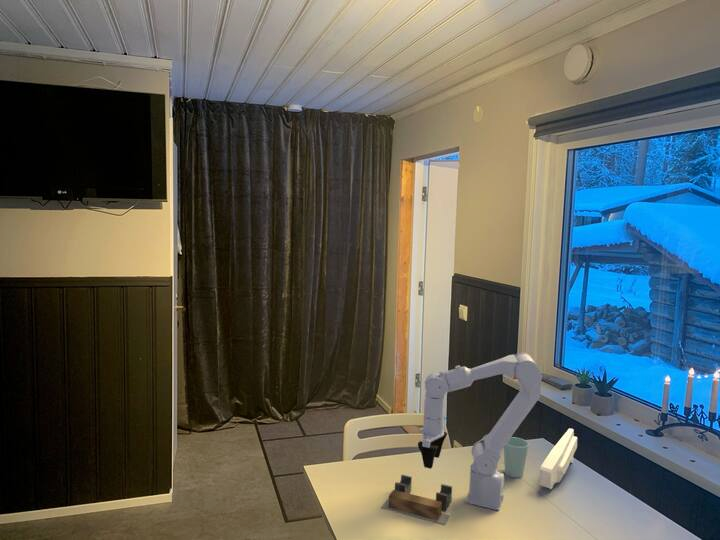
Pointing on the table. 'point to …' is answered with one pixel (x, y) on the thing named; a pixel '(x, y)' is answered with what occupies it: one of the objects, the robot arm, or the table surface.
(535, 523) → the table surface
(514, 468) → the cup
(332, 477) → the table surface
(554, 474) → the shelf bracket
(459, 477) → the table surface
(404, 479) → the post
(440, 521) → the mat
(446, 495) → the post
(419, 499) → the rail
